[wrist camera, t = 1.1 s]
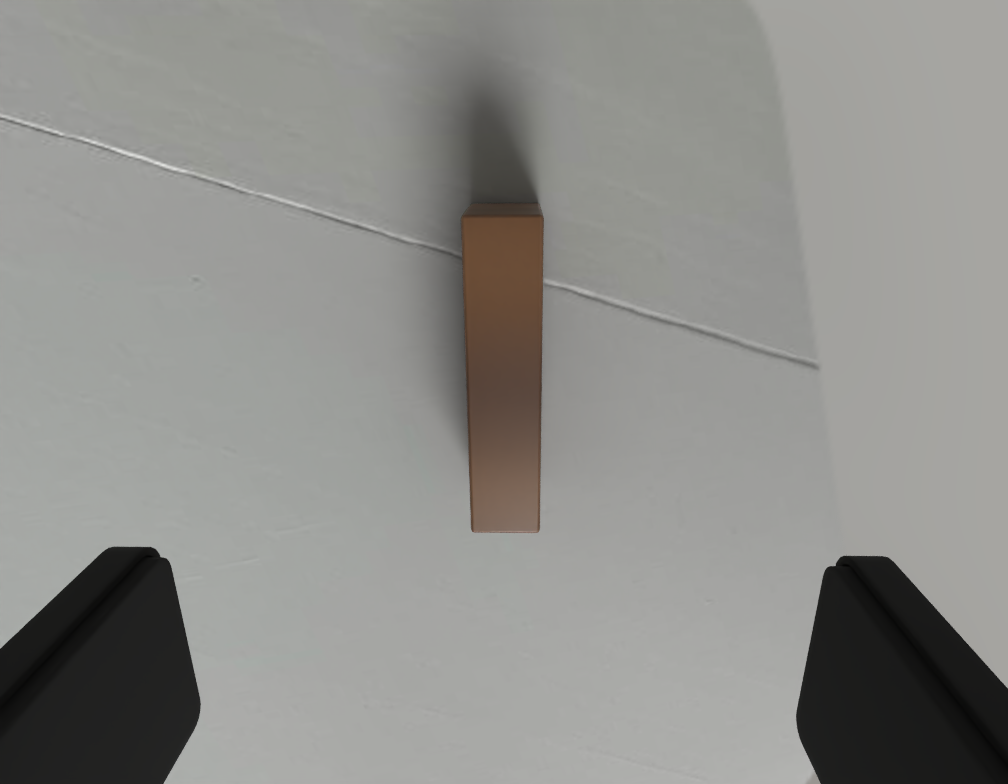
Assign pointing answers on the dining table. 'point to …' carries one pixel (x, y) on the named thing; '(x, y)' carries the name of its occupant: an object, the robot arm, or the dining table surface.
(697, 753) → the dining table surface
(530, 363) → the brown wooden block
